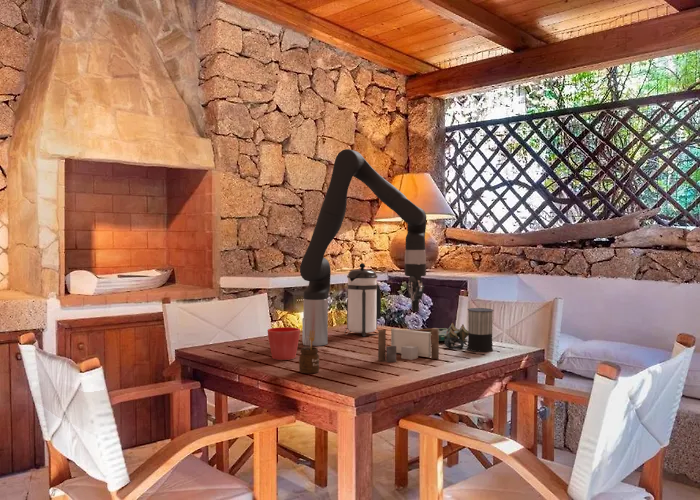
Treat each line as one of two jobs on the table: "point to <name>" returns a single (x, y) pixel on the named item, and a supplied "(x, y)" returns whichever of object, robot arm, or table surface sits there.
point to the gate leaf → (412, 340)
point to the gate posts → (390, 351)
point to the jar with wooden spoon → (309, 358)
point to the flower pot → (283, 342)
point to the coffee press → (363, 301)
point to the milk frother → (476, 331)
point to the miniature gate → (448, 332)
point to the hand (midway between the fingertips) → (415, 311)
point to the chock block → (409, 352)
